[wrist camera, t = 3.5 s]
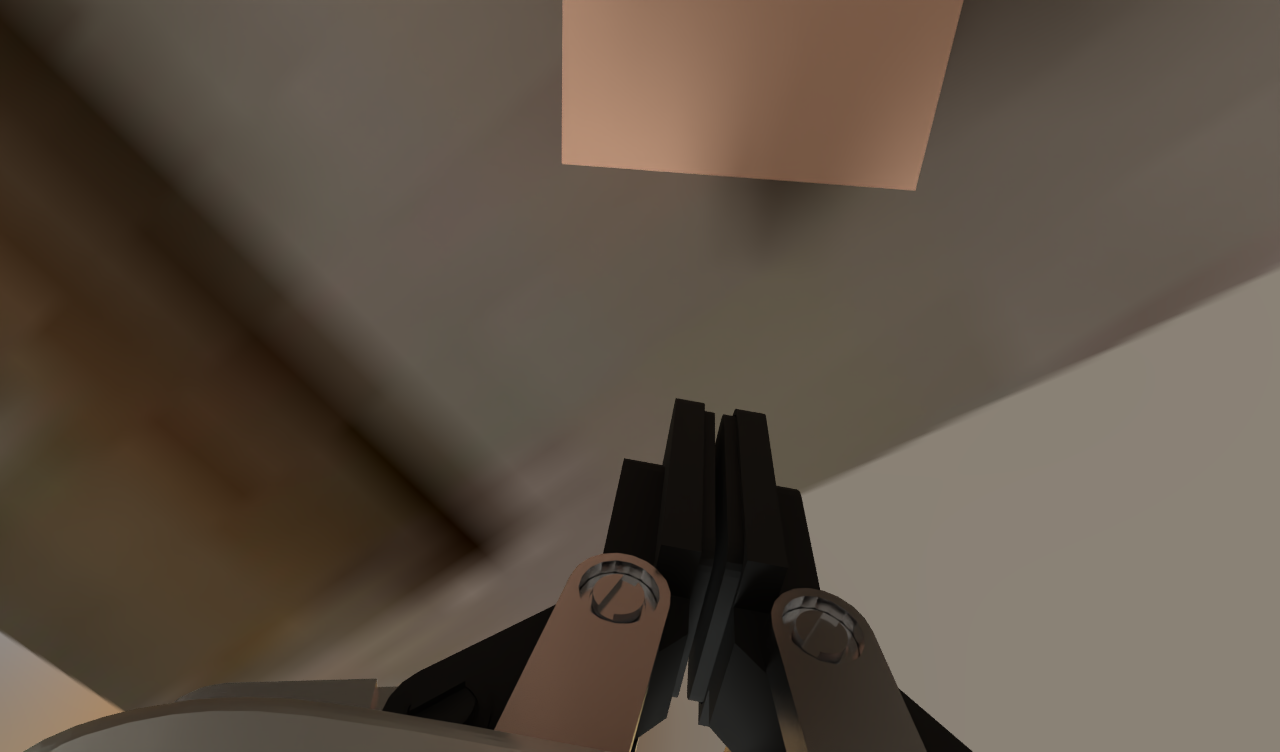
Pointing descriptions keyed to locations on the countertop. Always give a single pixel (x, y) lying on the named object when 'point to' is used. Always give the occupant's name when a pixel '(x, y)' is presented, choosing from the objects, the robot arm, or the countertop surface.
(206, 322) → the countertop surface
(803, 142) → the tile
